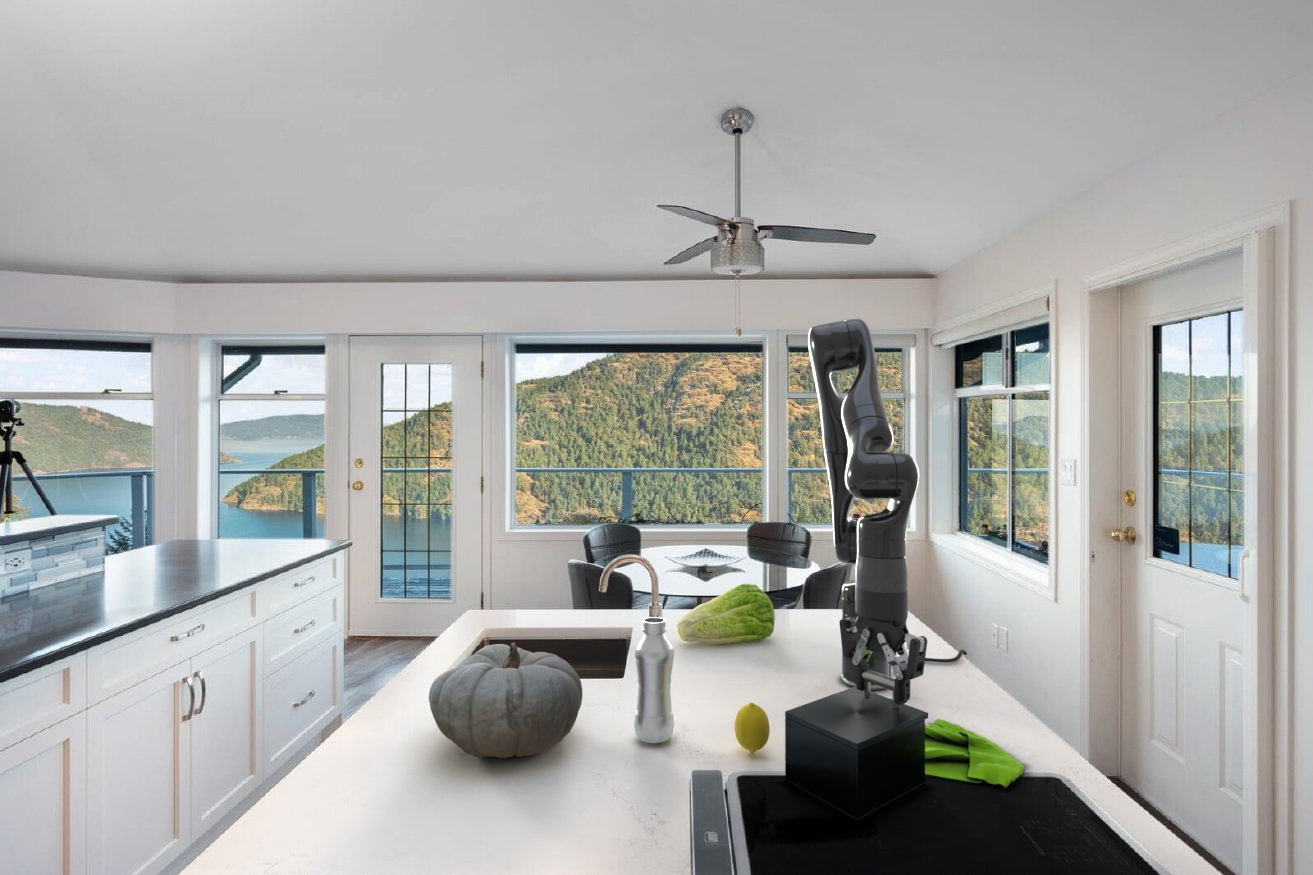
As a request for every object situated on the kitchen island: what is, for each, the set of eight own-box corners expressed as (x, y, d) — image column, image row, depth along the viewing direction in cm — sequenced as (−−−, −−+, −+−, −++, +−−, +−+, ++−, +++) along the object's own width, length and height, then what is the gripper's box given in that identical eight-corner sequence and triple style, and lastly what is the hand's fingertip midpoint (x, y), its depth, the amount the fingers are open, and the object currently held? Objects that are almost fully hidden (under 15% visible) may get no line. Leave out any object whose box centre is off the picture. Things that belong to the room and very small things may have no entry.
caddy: (852, 753, 105) (852, 692, 105) (925, 787, 95) (925, 719, 95) (785, 784, 96) (784, 717, 96) (857, 825, 85) (857, 750, 85)
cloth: (1025, 799, 92) (1025, 781, 92) (864, 761, 102) (864, 745, 102) (1025, 739, 109) (1025, 725, 109) (888, 712, 120) (887, 699, 120)
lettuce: (694, 667, 152) (672, 653, 165) (785, 639, 160) (757, 627, 174) (683, 607, 152) (662, 598, 166) (774, 582, 160) (747, 575, 174)
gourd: (415, 776, 93) (430, 648, 96) (428, 730, 116) (439, 629, 120) (590, 771, 99) (598, 652, 102) (568, 729, 123) (575, 633, 126)
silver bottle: (633, 731, 113) (632, 615, 113) (672, 730, 113) (672, 614, 113) (635, 749, 106) (634, 626, 106) (676, 747, 107) (676, 625, 107)
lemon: (769, 762, 102) (768, 711, 102) (733, 759, 103) (733, 708, 103) (770, 746, 107) (770, 697, 107) (736, 743, 108) (736, 695, 108)
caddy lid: (855, 691, 105) (855, 659, 105) (928, 718, 95) (928, 683, 95) (784, 716, 96) (784, 682, 96) (857, 750, 85) (857, 711, 85)
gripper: (939, 590, 95) (939, 705, 95) (857, 573, 107) (857, 676, 107) (909, 597, 91) (909, 719, 91) (826, 579, 102) (826, 687, 102)
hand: (881, 695), depth 99 cm, fingers closed on caddy lid, 6 cm apart
